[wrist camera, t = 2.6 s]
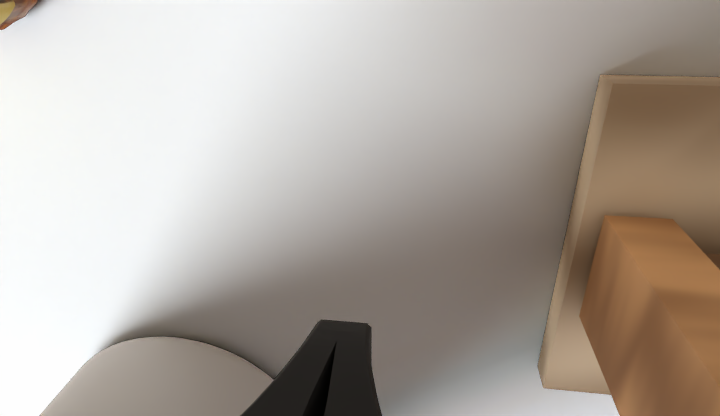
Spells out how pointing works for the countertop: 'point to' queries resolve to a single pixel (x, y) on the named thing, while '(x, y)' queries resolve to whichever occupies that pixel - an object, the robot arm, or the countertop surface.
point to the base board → (633, 196)
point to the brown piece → (655, 318)
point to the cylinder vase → (161, 381)
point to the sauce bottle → (13, 11)
